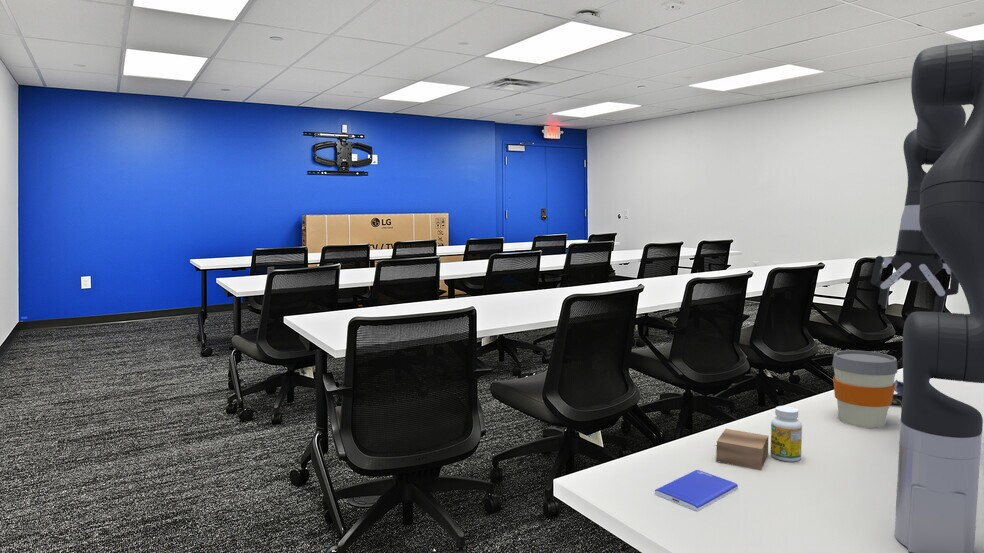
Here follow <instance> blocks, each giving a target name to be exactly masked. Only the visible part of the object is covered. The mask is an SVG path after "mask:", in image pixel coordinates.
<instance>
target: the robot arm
mask: <svg viewBox="0 0 984 553" xmlns="http://www.w3.org/2000/svg"><path fill="white" fill-rule="evenodd" d="M911 72H912V73H911V84H910V85H911V86H910V90H911V91H910V92H911V99H912V104H913V109H914V112H915V115H916V118H917V123H916V129H915V128H914V129H913V130H911V131H910V132H909V133H908V134H907V135H906V136H905V138H904V141H903V146H902V147H903V149H902V150H903V154H904V161H905V165H906V171H907V172H906V173H907V188H906V196H905V200H904V202H905V203H904V206H903V207H904V208H903V211H902V213H901V219H900V224H899V230H898V236H897V242H896V243H897V244H896V249H895V254H894V256H893V257H892V258H891V257H890V258H889V257H884V256H882V255H878V256H876V257H875V261H874V265H873V270H872V274H871V278H870V284H871V285H874V286H875V287H877V288H879V296H878V301H877V302H878V305H881V308H882V309H887V308H888V302H889V296H890V290H889V289H890V288H891V287H892V286H894V285H895V283H897V282H898V281H900V279H902V280H904V281H907V282H908V281H909V282H911V281H913V282H914V281H915V282H918V283H927V282H928V283H929V284H930V285H931V287H932V289H934V291H935V292H936V295H935V296H934V304H933V309H932V311H914V312H913V311H912V312H911V313H910V314H909V315H908V316H907V317H906V319H905V322H904V326H903V331H902V382H903V396H902V405H901V409H900V424H899V442H898V460H897V461H898V462H897V478H896V479H897V480H896V499H895V521H894V537H895V539H896V540H897V541H898V542H899V543H900V544H902V545H903V546H905V547H906V548H907V550H908V552H909V553H975V547H976V546H975V545H976V530H977V526H976V524H977V512H978V511H977V510H978V497H979V496H978V495H979V480H980V463H981V453H982V451H981V450H982V437H983V436H982V435H983V423H984V420H983V415H982V414H981V413H982V412H980V411H979V410H978V409H977V408H975V407H973V406H972V405H971V404H967V403H965V402H963V401H960V400H957V399H956V398H953V397H950V396H948V395H947V394H945V393H943V392H942V391H939V390H938V389H937V388H935V387H934V386H933V385H932V384H931V383H930V379H938V380H945V381H957V382H965V383H975V384H984V39H978V40H970V41H964V42H957V43H949V44H942V45H936V46H931V47H927V48H925V49H923V50H921V51H920V52H919V53H918V54H917V55H916V57H915V60H914V62H913V66H912V70H911ZM966 105H967V106H969V105H972V106H973V108H972V111H971V112H970V115H969V117H968V119H967V114H966V111H965V108H964V107H963V106H966ZM924 165H925V166H931V167H930V168H929V169H928V171H925V170H924V169H923V166H924ZM942 260H943V261H942ZM889 264H891V265H892V267H893V269H894V270H895V271H894V272H893V273H892V274H891V275H889V277H888V278H887V279H885V280H884V281H882V280H881V277H882V273H883V269H884V268H887V267H888V265H889ZM942 269H945V271H946V273H947V275H950V281H949V282H950V283H949V288H945V289H944V287H943V286H942V284H941V282H940V281H939V280H938V279H937V277H936V275H937V274H938V273H940V272H941V270H942ZM960 287H961V289H962V292H963V294H964V296H965V299H966V302H967V305H968V310H969V313H958V312H956V313H955V312H943V311H944V306H945V301H946V300H945V299H946V297H948V296H953V295H957V294H959V288H960Z"/></svg>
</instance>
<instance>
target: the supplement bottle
mask: <svg viewBox="0 0 984 553" xmlns="http://www.w3.org/2000/svg"><path fill="white" fill-rule="evenodd" d="M774 415H775V417H773V418H772V419H771V422H770V455H771V456H772V458H774V459H776V460H779V461H782V462H789V463H793V462H798V461H800V460H801V458H802V439H803V437H802V435H803V432H802V431H803V424H802V422H801V421H800V419H798V418H799V409H797V408H796V407H793V406H787V405H778V406H776V407H775V410H774Z"/></svg>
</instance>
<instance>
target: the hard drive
mask: <svg viewBox="0 0 984 553" xmlns="http://www.w3.org/2000/svg"><path fill="white" fill-rule="evenodd" d="M738 486H739V485H738V484H737V483H736V482H734V481H732V480H729V479H726V478H723V477H720V476H717V475H715V474H712V473H708V472H705V471H704V470H700V469H694V470H693V471H691V472H688V473H687V474H685V475H682V476H681V477H678V478H677V479H675V480H672V481H670V482H668V483H666V484H664V485H662V486H660V487H658V488H656V489H654V495H655V496H657V497H660V498H662V499H666V500H667V501H670V502H673V503H675V504H678V505H680V506H682V507H685V508H688V509H690V510H693V511H695V512H700V511H702V510H703V509H704V508H707V507H709V506H710V505H712V504H714V503H715V502H717V501H719V500H721V499H723V498H725V497H726V496H728V495H729V494H732V493H733V492H735V491H737V490H739V488H738Z"/></svg>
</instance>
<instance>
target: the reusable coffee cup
mask: <svg viewBox="0 0 984 553" xmlns="http://www.w3.org/2000/svg"><path fill="white" fill-rule="evenodd" d="M897 360H898V359H897V358H896V357H895V356H893V355H889V354H886V353H880V352H874V351H866V350H850V349H849V350H837V351H835V352H834V353H833V358H832V364H831V365H832V368H833V371H834V376H833V377H832V381H833V392H834V398H835V399H836V401H837V412H838V420H839V419H840V420H841V422H842V421H843V422H842V423H844V422H845V423H844V424H846V423H847V425H849V424H850V425H849V426H853V427H857V426H858V428H864V427H865V428H866V429H880V428H884V427H885V425H886V423H887V422H886V421H887V416H888V411H889V407H890V406H891V405H892V404H893V403H892V399H893V394H895V393H894V392H895V390H894V389H895V383H894V382H895V377H896V374H898V361H897ZM840 420H839V421H840Z"/></svg>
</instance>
